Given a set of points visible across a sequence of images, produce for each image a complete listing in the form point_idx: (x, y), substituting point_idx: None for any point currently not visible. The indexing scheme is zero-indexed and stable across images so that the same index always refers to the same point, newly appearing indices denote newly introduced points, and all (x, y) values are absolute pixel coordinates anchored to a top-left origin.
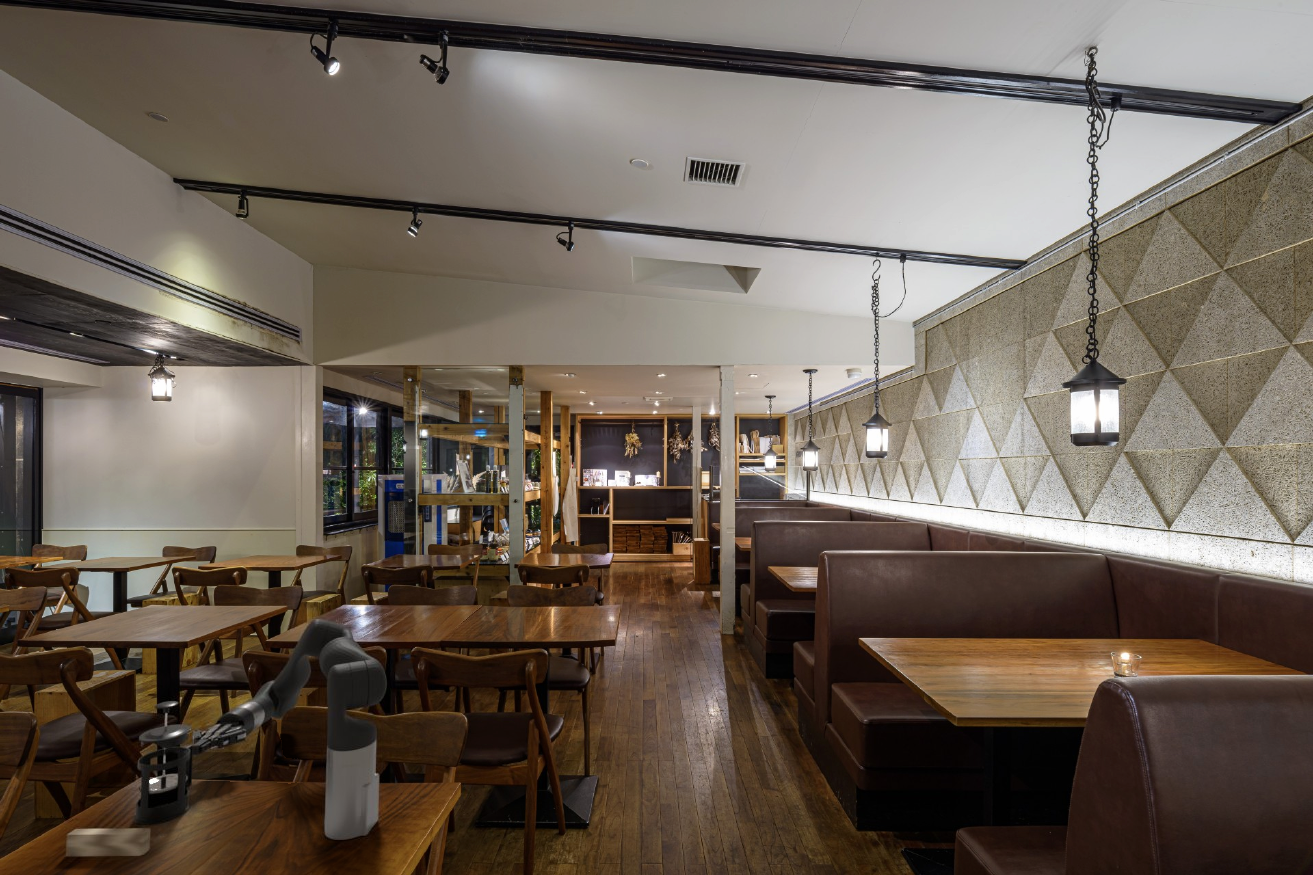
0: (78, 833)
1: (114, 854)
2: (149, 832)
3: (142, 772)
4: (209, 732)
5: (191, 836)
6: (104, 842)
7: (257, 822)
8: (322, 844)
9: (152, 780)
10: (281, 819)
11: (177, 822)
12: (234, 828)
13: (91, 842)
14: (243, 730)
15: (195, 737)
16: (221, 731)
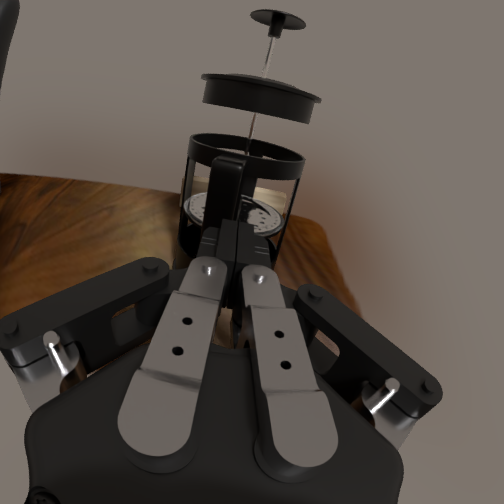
0: (272, 191)
1: None
2: (182, 183)
3: (259, 157)
4: (268, 308)
5: (134, 214)
6: None
7: (50, 220)
8: (8, 187)
9: (271, 223)
10: (22, 220)
11: (172, 243)
12: (79, 216)
13: None
14: (9, 325)
15: (320, 288)
16: (168, 301)
